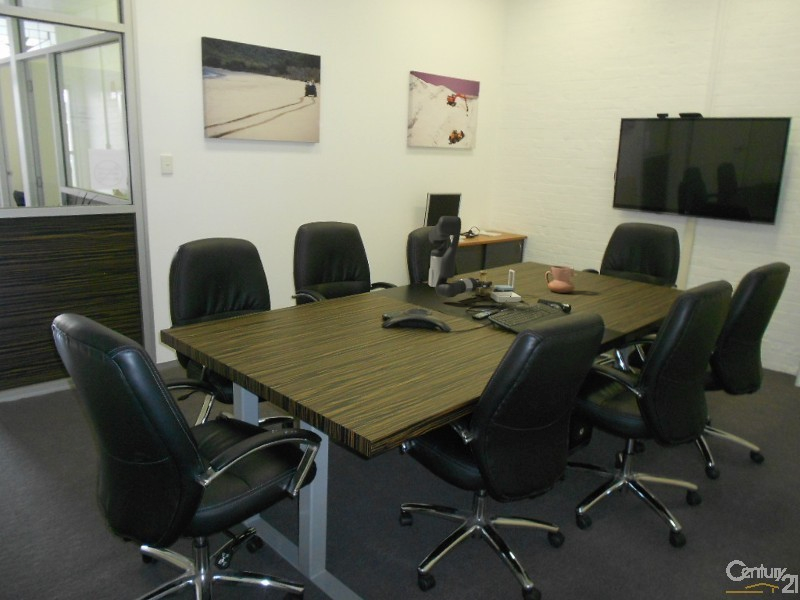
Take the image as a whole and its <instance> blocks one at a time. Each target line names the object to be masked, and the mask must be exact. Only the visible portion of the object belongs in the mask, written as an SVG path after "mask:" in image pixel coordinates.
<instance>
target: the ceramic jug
mask: <svg viewBox="0 0 800 600" xmlns="http://www.w3.org/2000/svg"><path fill="white" fill-rule="evenodd" d="M550 269H551V270H548V271H546V272H545V274H544V275H545V276H544V277H545V281H546V283H547V288H548V290H549V291H551V292H553V293H558V294H567V293H571V292H573V291H574V290H575V289H576V286H575V285H574V283H572V282H571V281H570V279H571V278H572V277H577V276H578V274H577V273H574V269H575V268H574V267H573V266H566V265H552V266H551V267H550ZM549 274H551V275H552V278H553V279H552V280H551V281H549Z"/></svg>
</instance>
